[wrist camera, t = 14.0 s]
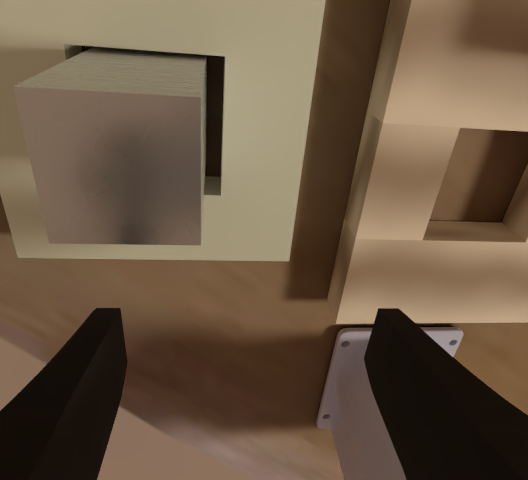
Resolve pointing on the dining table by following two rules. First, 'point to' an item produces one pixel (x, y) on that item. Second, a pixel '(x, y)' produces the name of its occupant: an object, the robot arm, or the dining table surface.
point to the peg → (119, 146)
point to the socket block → (435, 169)
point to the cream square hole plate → (233, 115)
